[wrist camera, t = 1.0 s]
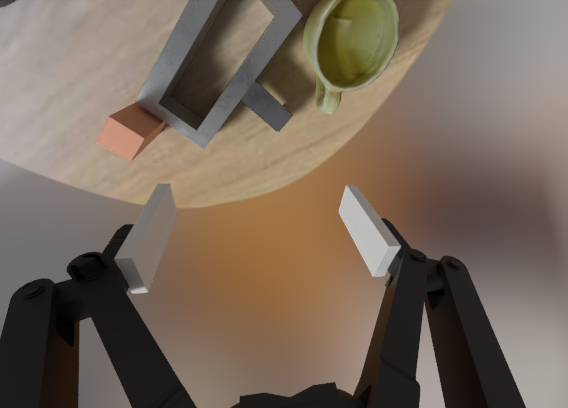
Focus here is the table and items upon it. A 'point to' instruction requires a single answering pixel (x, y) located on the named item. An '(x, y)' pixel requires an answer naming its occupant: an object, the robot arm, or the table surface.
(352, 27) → the mug
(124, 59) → the table surface
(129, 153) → the terracotta clay brick
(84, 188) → the table surface
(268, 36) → the hollow metal rectangle ring
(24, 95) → the table surface
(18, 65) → the table surface
